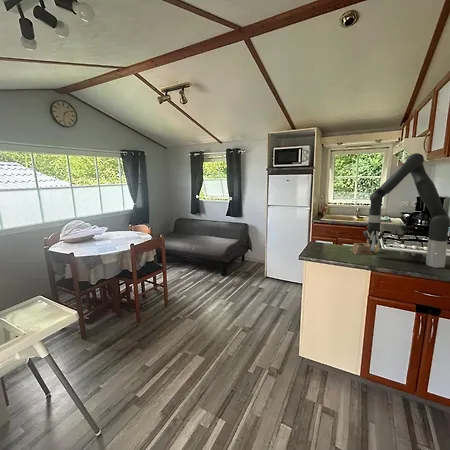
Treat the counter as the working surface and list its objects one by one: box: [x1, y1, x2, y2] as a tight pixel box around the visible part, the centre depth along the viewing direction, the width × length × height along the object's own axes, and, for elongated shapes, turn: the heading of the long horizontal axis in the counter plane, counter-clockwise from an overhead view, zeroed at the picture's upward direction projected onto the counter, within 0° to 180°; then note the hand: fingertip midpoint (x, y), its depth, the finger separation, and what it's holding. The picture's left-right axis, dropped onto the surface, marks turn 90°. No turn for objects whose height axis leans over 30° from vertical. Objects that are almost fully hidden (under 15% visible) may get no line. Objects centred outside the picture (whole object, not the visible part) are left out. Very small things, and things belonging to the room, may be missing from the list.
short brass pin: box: [373, 244, 380, 254], centre depth 193 cm, size 3×3×6 cm
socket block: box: [350, 242, 374, 256], centre depth 195 cm, size 12×12×6 cm
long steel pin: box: [369, 234, 376, 252], centre depth 182 cm, size 3×3×12 cm
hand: (373, 244), depth 182 cm, fingers closed on long steel pin, 3 cm apart
